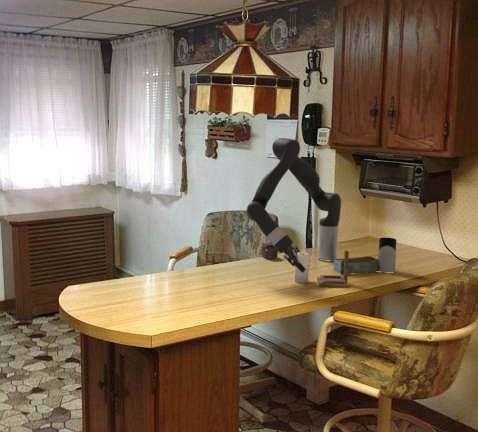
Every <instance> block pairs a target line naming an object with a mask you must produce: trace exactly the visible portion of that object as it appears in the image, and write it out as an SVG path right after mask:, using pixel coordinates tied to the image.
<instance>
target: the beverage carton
mask: <svg viewBox="0 0 478 432" xmlns="http://www.w3.org/2000/svg"><path fill="white" fill-rule="evenodd" d="M334 270H335V271H337V272H338V273H340V274H344V258H337V259H334V261H333V271H334ZM335 271H334V272H335ZM376 271H378V258H375V257H372V256H366V255H365V256H361V257H359V256H358V257H348V275H352V274H351V273H361V274H367V273H366V272H374V273H377V272H376ZM337 272H336V273H337ZM338 273H337V274H338ZM340 274H339V275H340Z"/></svg>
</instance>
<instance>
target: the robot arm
mask: <svg viewBox="0 0 478 432" xmlns="http://www.w3.org/2000/svg"><path fill="white" fill-rule="evenodd" d="M271 148H272V152H273V155H274V156H275V158H277V159H278V160H279V161H278V163H277V164H276V165H275V166H274V167H273V168H272V169H270V171H269V172H268V173H266V175H265V176H264V177H263V178H262V179H261V181H260V182H259V185H258V187H257V188H256V191H255V192H254V193H255V194H254V196H253V199H251V202H250V203H249V204H248V205H247V207H246V216H247V217H248V218H249V220H251V221H254V222H255V223H256V224H257V226H258V227H259V230H260V231H261V232H262V233H263V235H265V237H266V238H267V239H268V241H269V242H271V243H272V245H273V246H274V247H275V248H276V249H277V250H278V252H279V253H280V254H282V253H284V255H283V257H284V259H286V261H287V263H289V264H290V265H291V266H293V267H295V266H296V267H297V268H298V269H299V270H300V271H301V272H302V273H303V272H304V271H305V270H306V269H305V268H304V266H303V265H302V264H301V263H300V262H299V260H298V257H297V255H296V253H302V252H301V250H300V249H299V248H298V246H295V247H294V246H293V245H292V244H294V241H293V240H292V238H291V237H290V236H289V235H288V234H287V233H286V231H284V229H282V227H280V226H279V224H277V222H276V221H275V220H274V219H273V218H272V217H271V216H270V214H269V212H268V211H267V210H266V208H267V205H268V203H269V201H270V200H271V198H272V197H273V195H274V192H275V191H276V190H277V189H276V188H277V187H278V185H279V183H280V182H281V180H282V179H283V177H284V176H285V174H286V173H287V172H288V171H289V172H290V173H291V175H293V176H294V177H295V179H296V180H297V182H298V183H299V184H300V186H302V188H304V190H305V191H306V192H307V194H308V195H309V197H311V200H312V201H313V202H314V204H315V206H316V207H317V209H319V210H320V211H322V212H327V215H326V216H325V217H323V218H320V219H319V222H318V223H319V224H318V226H319V227H318V250H317V251H318V252H317V259H318V258H319V259H322V260H334V259H338V244H339V243H338V240H339V239H338V238H339V237H338V236H339V222H340V220H341V219H340V218H341V211H342V210H341V207H342V199H341V196H340V194H338V193H334V192H326V191H325V190H323V189H322V187H320V182H321V178H320V175H319V174H318V172H317V171H316V170H315V168H314V167H313V166H312V165H311V164H309V163H308V162H306V161H305V160H304V159H302V158H301V157H299V154H300V151H301V145H300V142H299V141H298V140H296V139H292V138H286V137H285V138H284V137H278V138H276V139H275V140H274V141H273V143H272V147H271ZM319 259H318V260H319Z"/></svg>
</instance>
